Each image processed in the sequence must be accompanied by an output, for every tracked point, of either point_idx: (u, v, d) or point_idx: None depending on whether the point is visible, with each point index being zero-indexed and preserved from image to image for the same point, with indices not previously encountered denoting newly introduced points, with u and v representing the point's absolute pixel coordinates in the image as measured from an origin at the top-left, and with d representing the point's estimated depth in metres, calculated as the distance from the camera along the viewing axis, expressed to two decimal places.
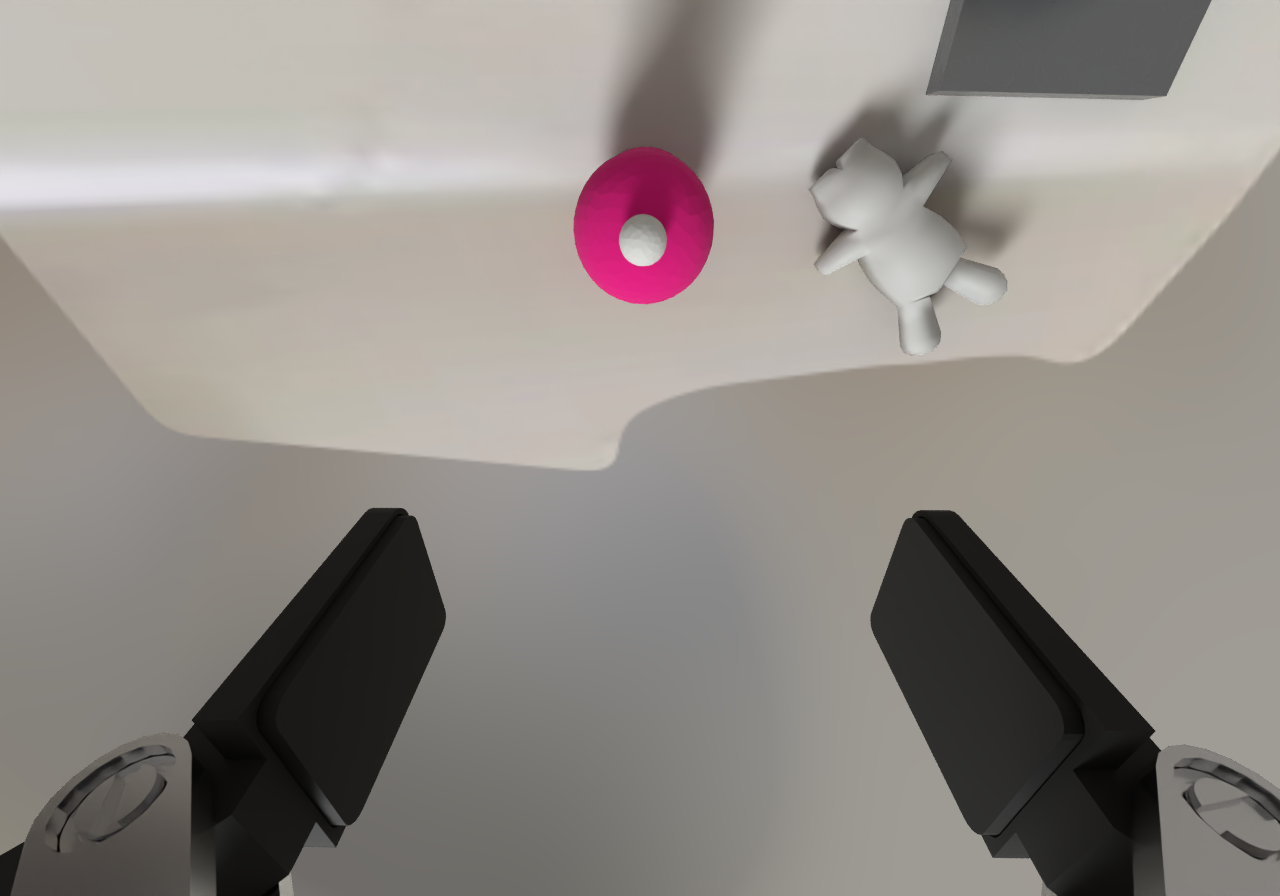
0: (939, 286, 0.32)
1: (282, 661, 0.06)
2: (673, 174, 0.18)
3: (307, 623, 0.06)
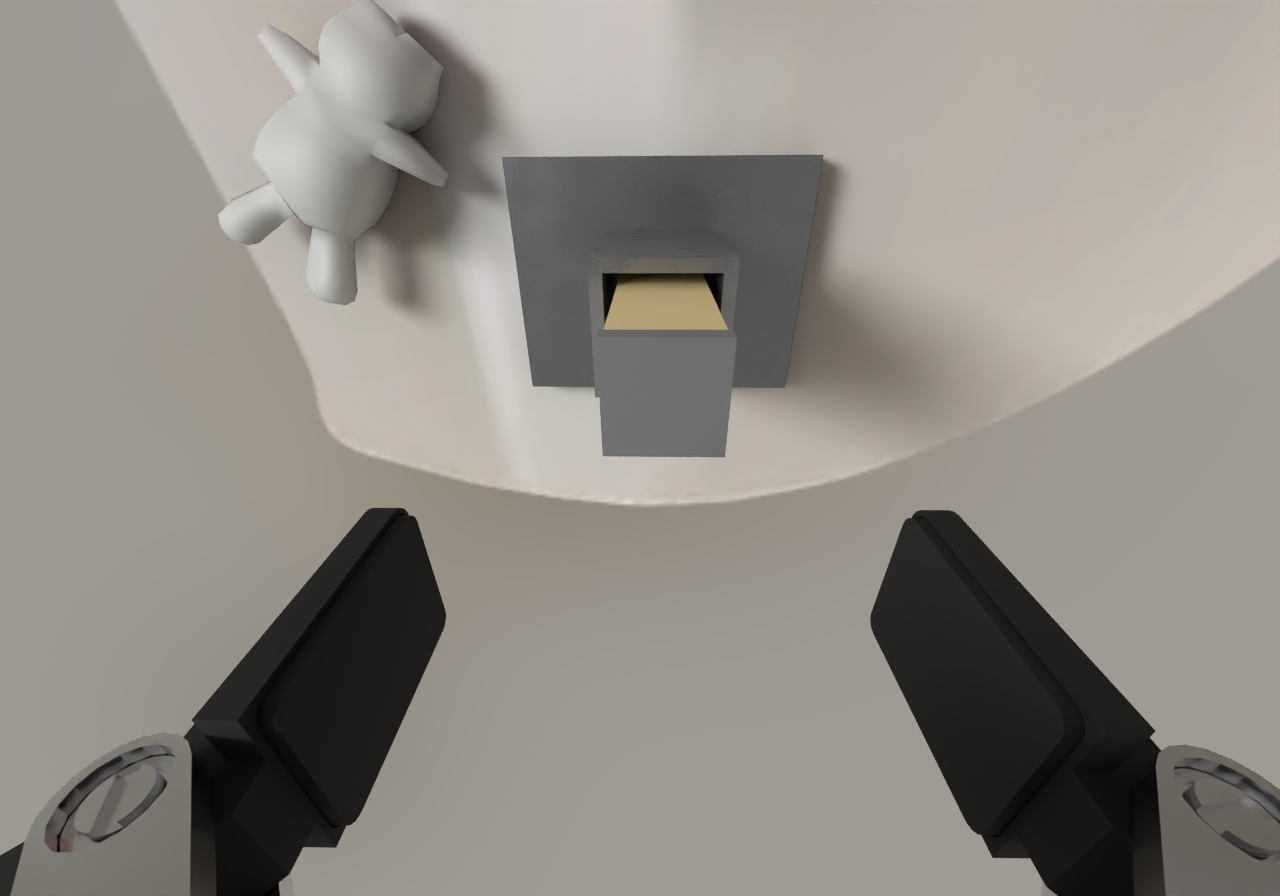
0: (292, 208, 0.25)
1: (282, 661, 0.06)
2: None
3: (307, 623, 0.06)
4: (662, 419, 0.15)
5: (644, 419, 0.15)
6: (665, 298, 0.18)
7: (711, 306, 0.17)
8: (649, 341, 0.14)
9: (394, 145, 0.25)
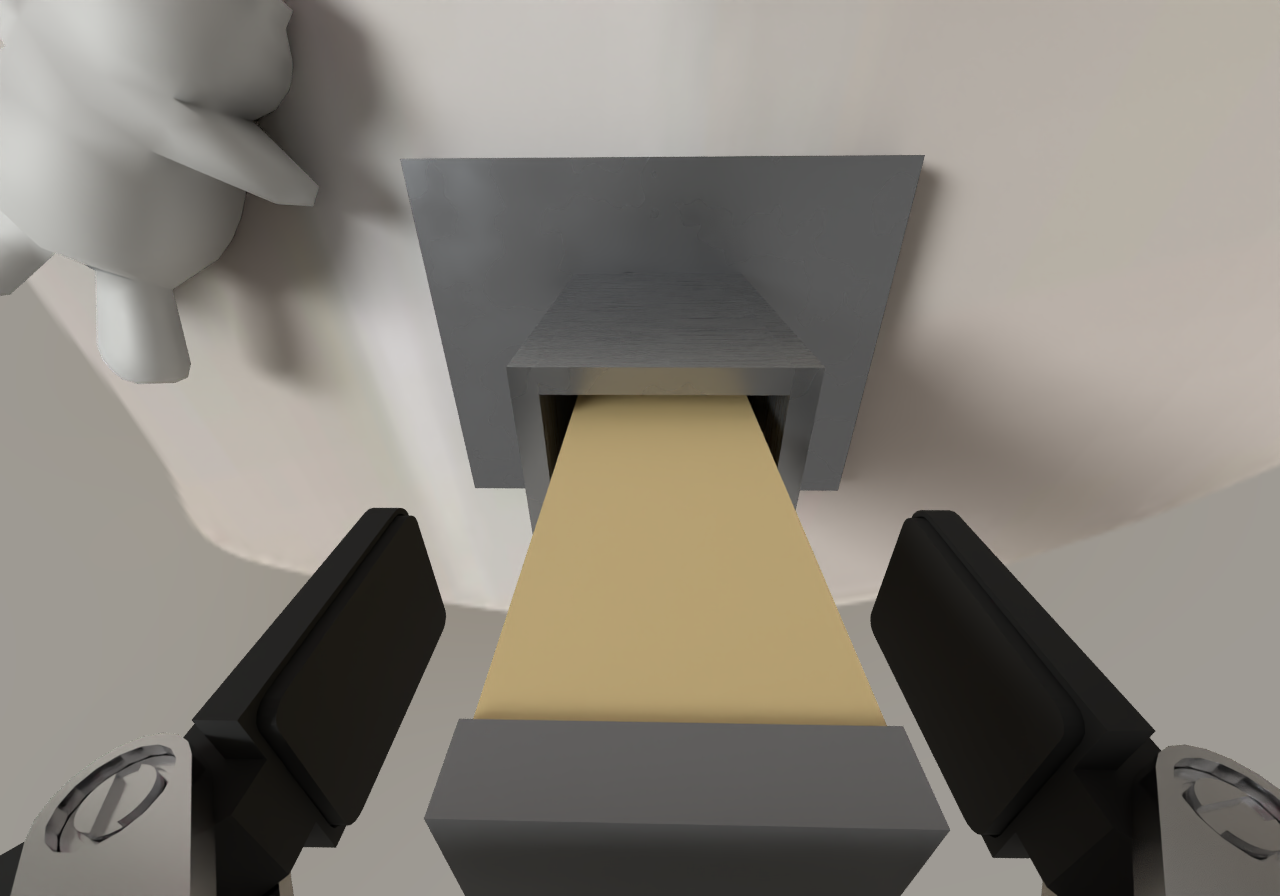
0: (38, 243, 0.15)
1: (282, 661, 0.06)
2: None
3: (307, 623, 0.06)
4: None
5: None
6: (670, 470, 0.08)
7: (782, 515, 0.07)
8: (621, 827, 0.04)
9: (200, 138, 0.14)
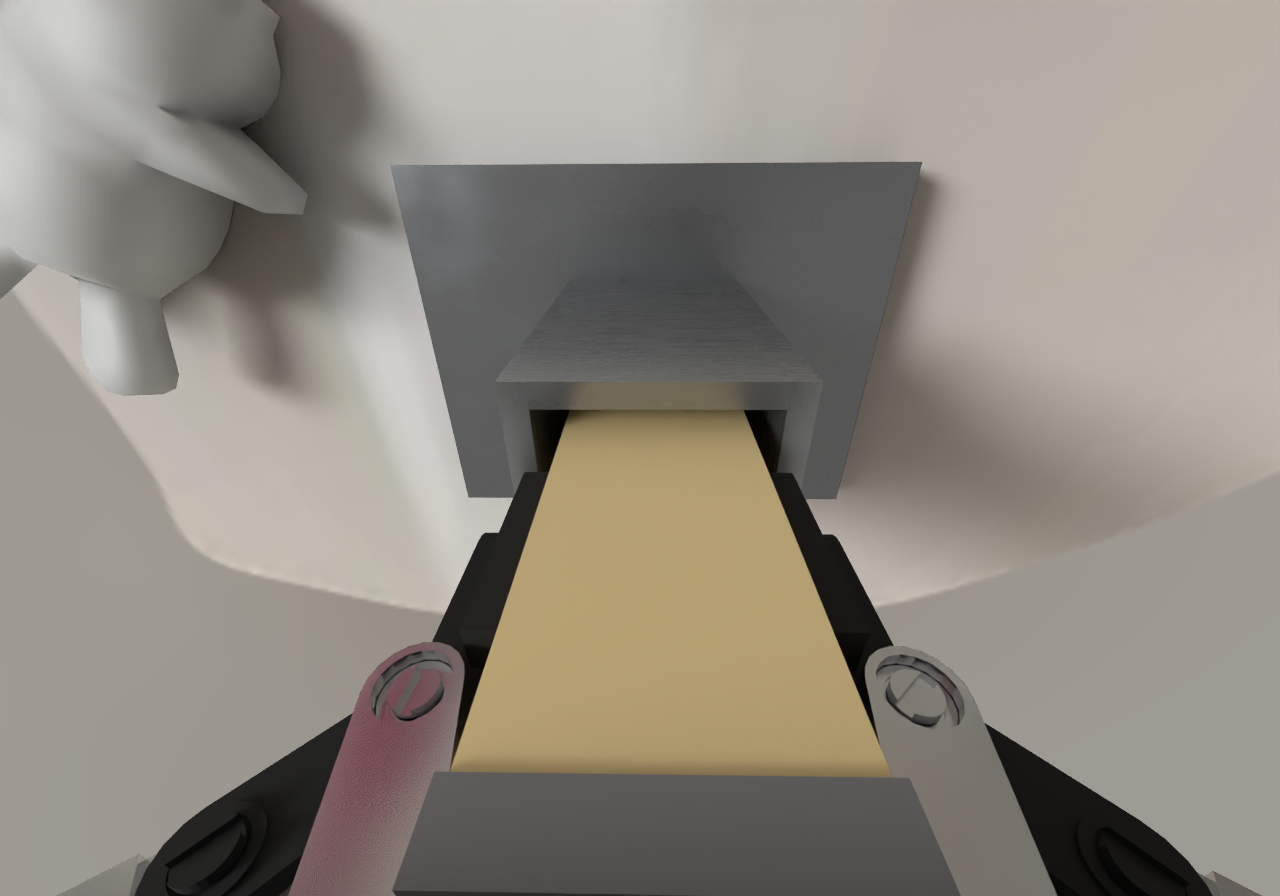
0: (19, 254, 0.15)
1: None
2: None
3: (517, 560, 0.07)
4: None
5: None
6: (664, 489, 0.08)
7: (780, 538, 0.07)
8: None
9: (185, 147, 0.14)
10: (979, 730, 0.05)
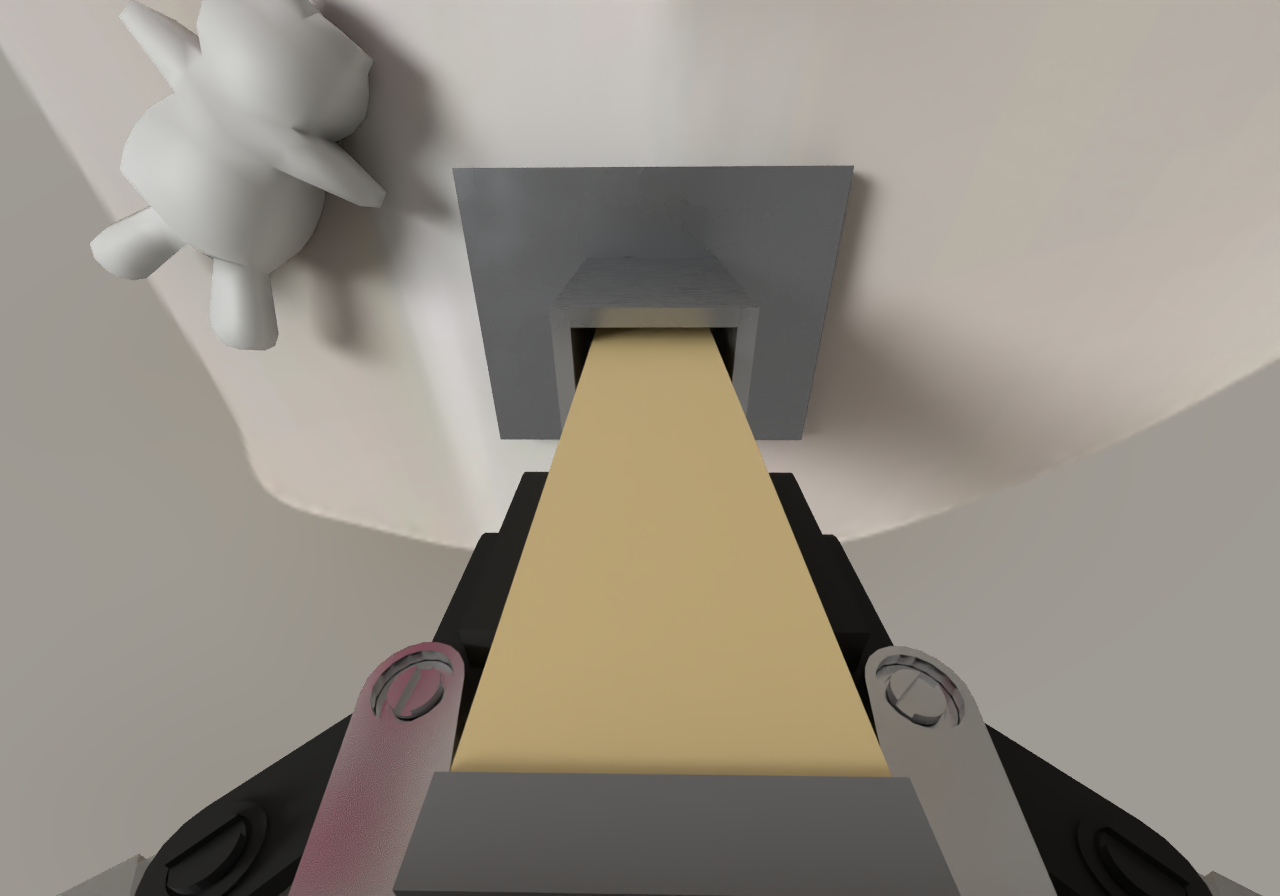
0: (180, 236, 0.20)
1: (510, 587, 0.07)
2: None
3: (517, 560, 0.07)
4: None
5: None
6: (664, 489, 0.08)
7: (780, 538, 0.07)
8: None
9: (307, 157, 0.19)
10: (979, 730, 0.05)
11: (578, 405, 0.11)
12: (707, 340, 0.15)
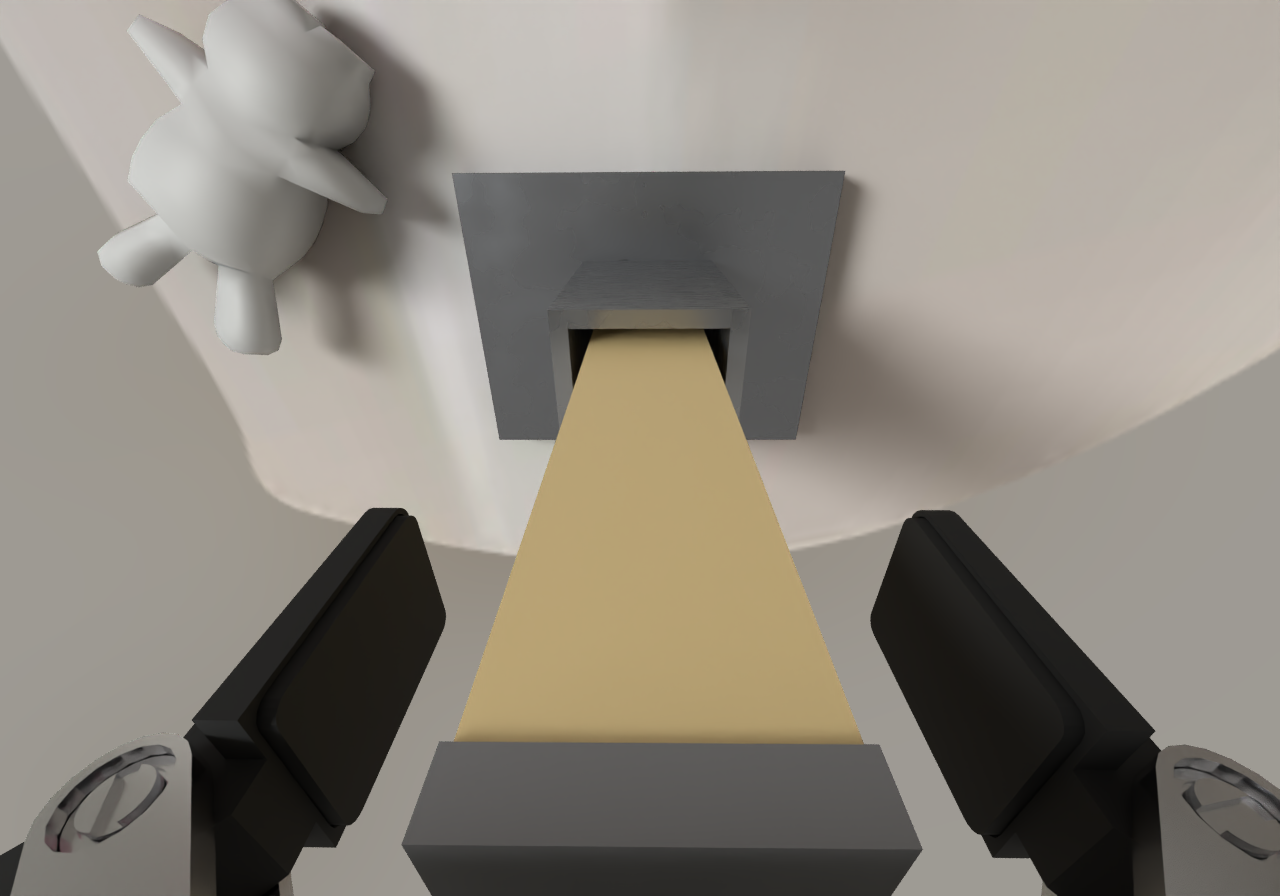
0: (186, 244, 0.20)
1: (282, 661, 0.06)
2: None
3: (307, 623, 0.06)
4: None
5: None
6: (656, 484, 0.08)
7: (766, 530, 0.07)
8: (598, 850, 0.04)
9: (310, 165, 0.20)
10: None
11: (575, 405, 0.11)
12: (701, 342, 0.16)
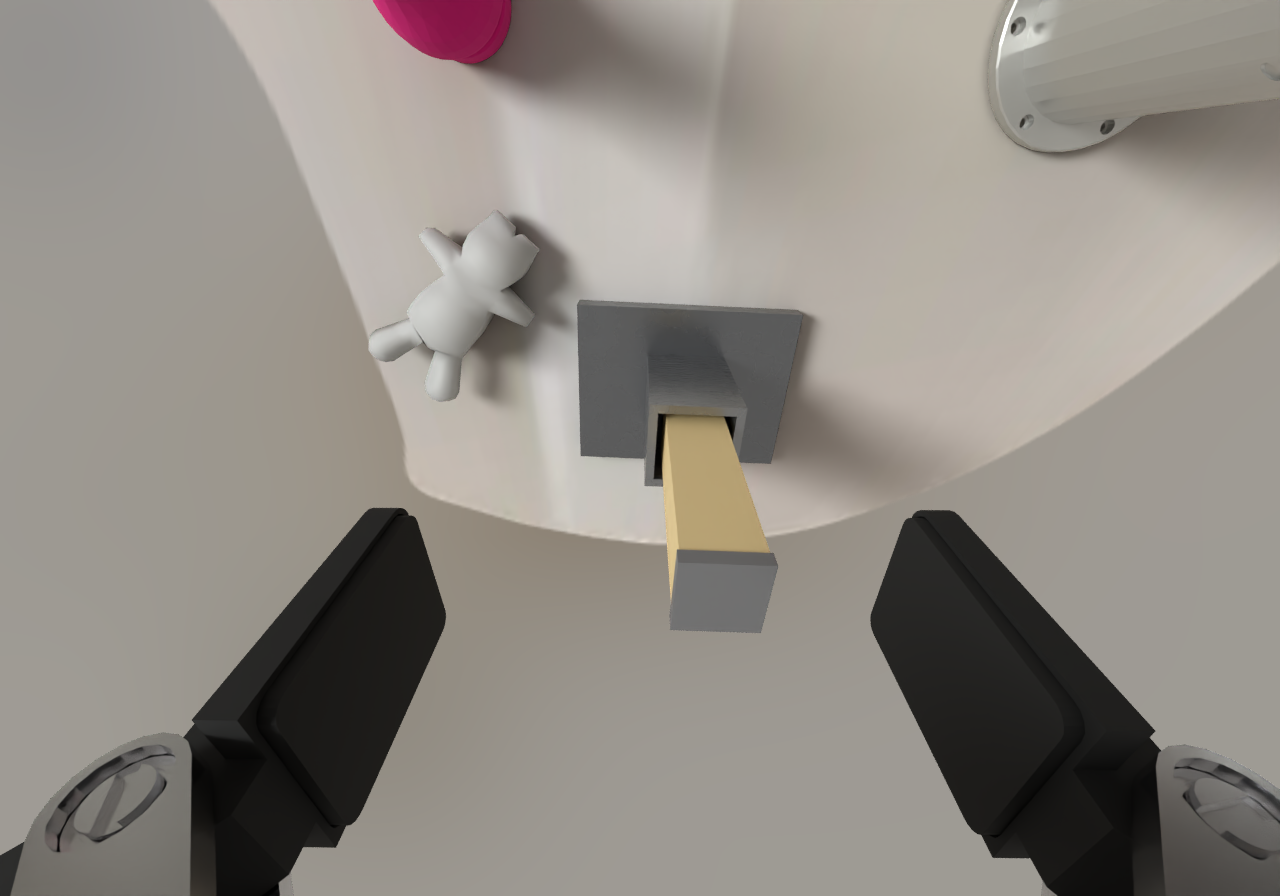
0: (427, 343, 0.36)
1: (282, 661, 0.06)
2: None
3: (307, 623, 0.06)
4: (718, 609, 0.21)
5: (704, 609, 0.21)
6: (713, 492, 0.24)
7: (750, 508, 0.23)
8: (715, 565, 0.20)
9: (505, 304, 0.35)
10: None
11: (672, 457, 0.27)
12: (722, 420, 0.31)
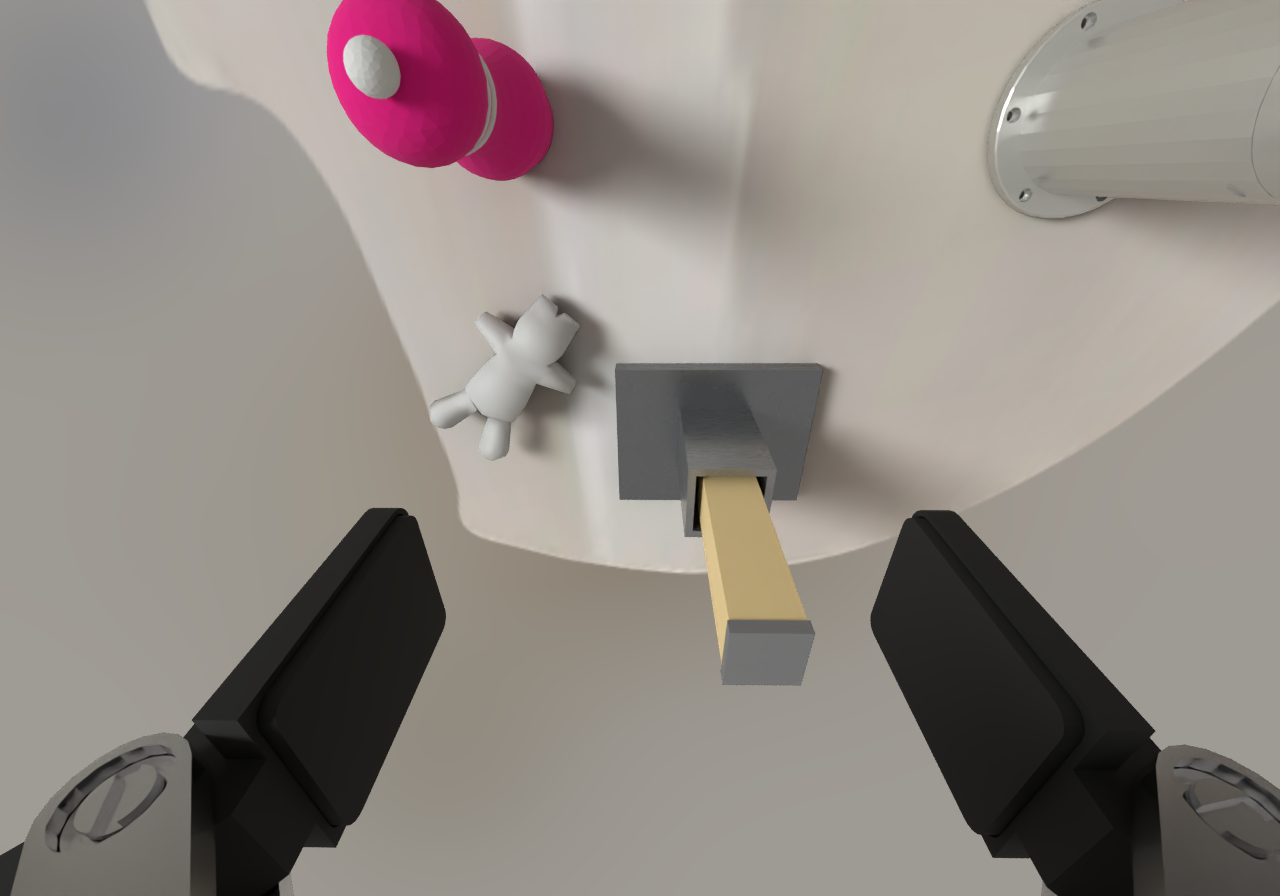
0: (482, 413, 0.40)
1: (282, 660, 0.06)
2: (455, 109, 0.18)
3: (307, 623, 0.06)
4: (763, 668, 0.24)
5: (752, 668, 0.24)
6: (753, 559, 0.28)
7: (787, 574, 0.27)
8: (761, 634, 0.23)
9: (550, 376, 0.39)
10: None
11: (713, 521, 0.31)
12: (753, 479, 0.35)
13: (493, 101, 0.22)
